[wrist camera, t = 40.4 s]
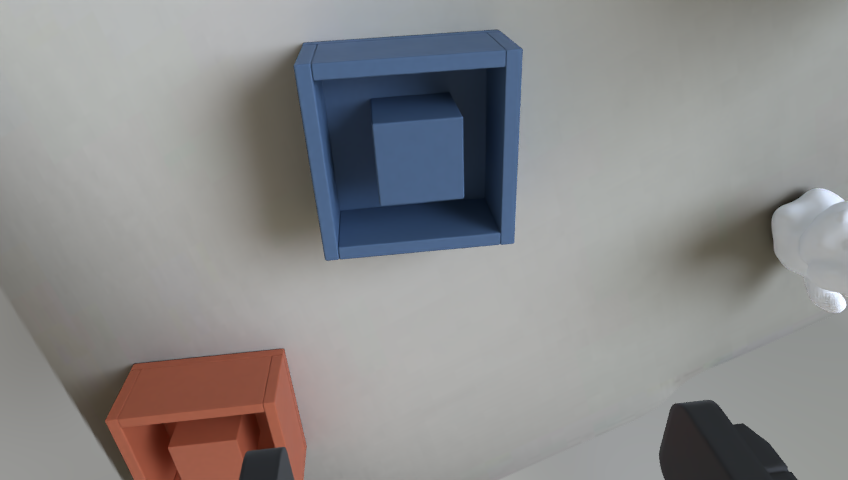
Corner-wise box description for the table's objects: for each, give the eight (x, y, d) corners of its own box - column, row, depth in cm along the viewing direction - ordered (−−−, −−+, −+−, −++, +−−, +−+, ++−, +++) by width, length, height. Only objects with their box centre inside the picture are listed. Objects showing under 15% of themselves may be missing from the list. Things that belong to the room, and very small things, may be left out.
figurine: (829, 151, 32) (957, 214, 25) (852, 245, 36) (969, 323, 29) (740, 199, 33) (840, 273, 26) (772, 286, 37) (866, 371, 30)
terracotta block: (201, 438, 38) (185, 490, 34) (185, 396, 36) (167, 447, 32) (260, 431, 38) (250, 482, 34) (248, 389, 36) (236, 440, 32)
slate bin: (329, 217, 31) (325, 261, 27) (303, 42, 26) (292, 64, 22) (494, 202, 31) (514, 243, 27) (498, 29, 27) (522, 48, 23)
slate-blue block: (377, 172, 29) (380, 207, 26) (369, 98, 27) (371, 124, 24) (452, 166, 29) (464, 199, 26) (450, 91, 27) (463, 116, 24)
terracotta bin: (174, 461, 39) (154, 521, 35) (133, 363, 35) (104, 420, 31) (306, 446, 40) (301, 504, 36) (284, 348, 35) (274, 402, 31)
